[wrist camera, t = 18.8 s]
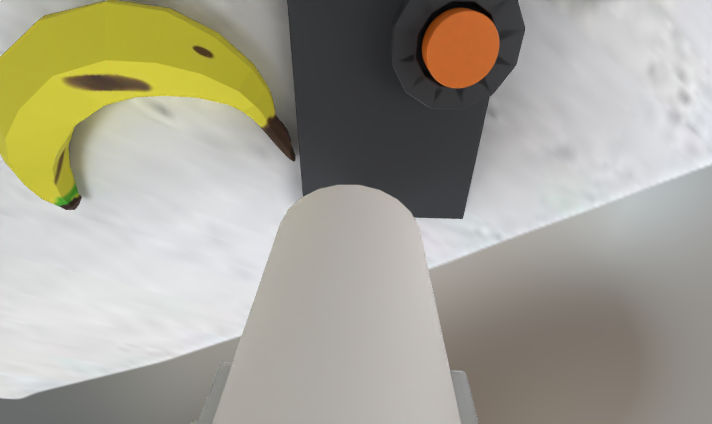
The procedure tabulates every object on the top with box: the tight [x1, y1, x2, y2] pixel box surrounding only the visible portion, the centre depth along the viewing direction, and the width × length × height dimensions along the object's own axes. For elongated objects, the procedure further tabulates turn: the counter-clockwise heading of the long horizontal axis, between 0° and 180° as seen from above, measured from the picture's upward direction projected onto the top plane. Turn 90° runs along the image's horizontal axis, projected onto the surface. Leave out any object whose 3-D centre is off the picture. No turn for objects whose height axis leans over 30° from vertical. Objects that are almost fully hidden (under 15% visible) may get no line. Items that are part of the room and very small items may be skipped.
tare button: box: [422, 8, 499, 88], centre depth 17 cm, size 3×3×2 cm
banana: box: [0, 0, 296, 210], centre depth 22 cm, size 5×17×15 cm
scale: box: [287, 0, 525, 219], centre depth 21 cm, size 14×11×3 cm
